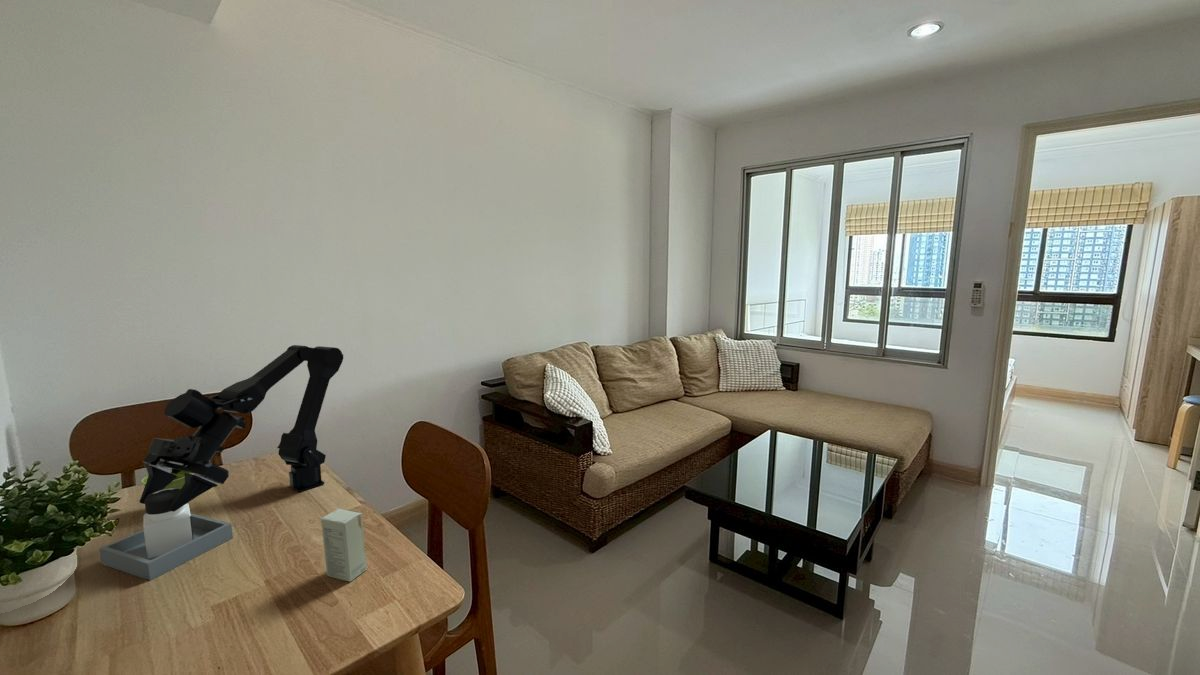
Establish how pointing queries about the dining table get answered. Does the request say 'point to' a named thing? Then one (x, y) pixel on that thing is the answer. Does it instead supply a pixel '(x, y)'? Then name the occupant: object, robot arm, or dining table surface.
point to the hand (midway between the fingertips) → (156, 507)
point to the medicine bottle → (165, 523)
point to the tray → (134, 559)
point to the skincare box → (344, 544)
